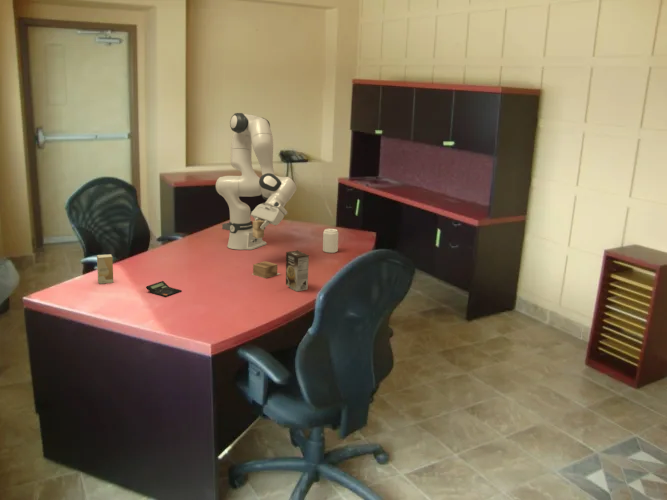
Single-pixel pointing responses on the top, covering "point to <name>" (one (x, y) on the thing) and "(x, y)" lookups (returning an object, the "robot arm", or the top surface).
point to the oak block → (258, 229)
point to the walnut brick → (265, 269)
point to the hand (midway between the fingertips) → (257, 227)
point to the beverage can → (330, 240)
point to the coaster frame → (226, 226)
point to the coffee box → (297, 270)
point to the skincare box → (105, 268)
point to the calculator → (162, 289)
